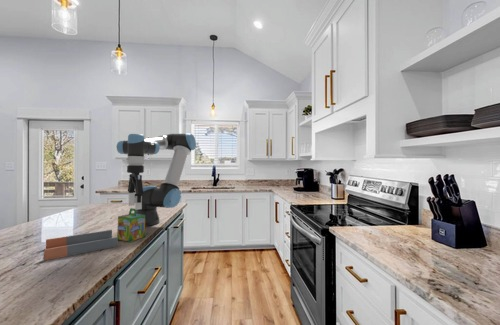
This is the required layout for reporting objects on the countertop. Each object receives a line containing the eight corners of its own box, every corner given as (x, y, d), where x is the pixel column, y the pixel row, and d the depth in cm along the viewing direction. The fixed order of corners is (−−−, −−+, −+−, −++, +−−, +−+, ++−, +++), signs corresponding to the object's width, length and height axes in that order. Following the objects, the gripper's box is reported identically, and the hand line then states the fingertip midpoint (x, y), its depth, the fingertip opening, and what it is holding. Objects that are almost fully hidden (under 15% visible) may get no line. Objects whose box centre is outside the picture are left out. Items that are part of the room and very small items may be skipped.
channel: (111, 237, 119) (111, 229, 119) (117, 246, 106) (117, 237, 106) (45, 248, 103) (46, 239, 103) (44, 260, 91) (44, 249, 91)
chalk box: (116, 240, 115) (117, 209, 115) (132, 234, 124) (132, 206, 124) (130, 242, 112) (130, 211, 112) (145, 237, 120) (146, 208, 120)
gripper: (122, 164, 126) (121, 204, 125) (133, 165, 106) (132, 212, 106) (137, 164, 130) (136, 203, 130) (151, 165, 111) (150, 210, 111)
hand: (134, 207), depth 118 cm, fingers open, 13 cm apart
